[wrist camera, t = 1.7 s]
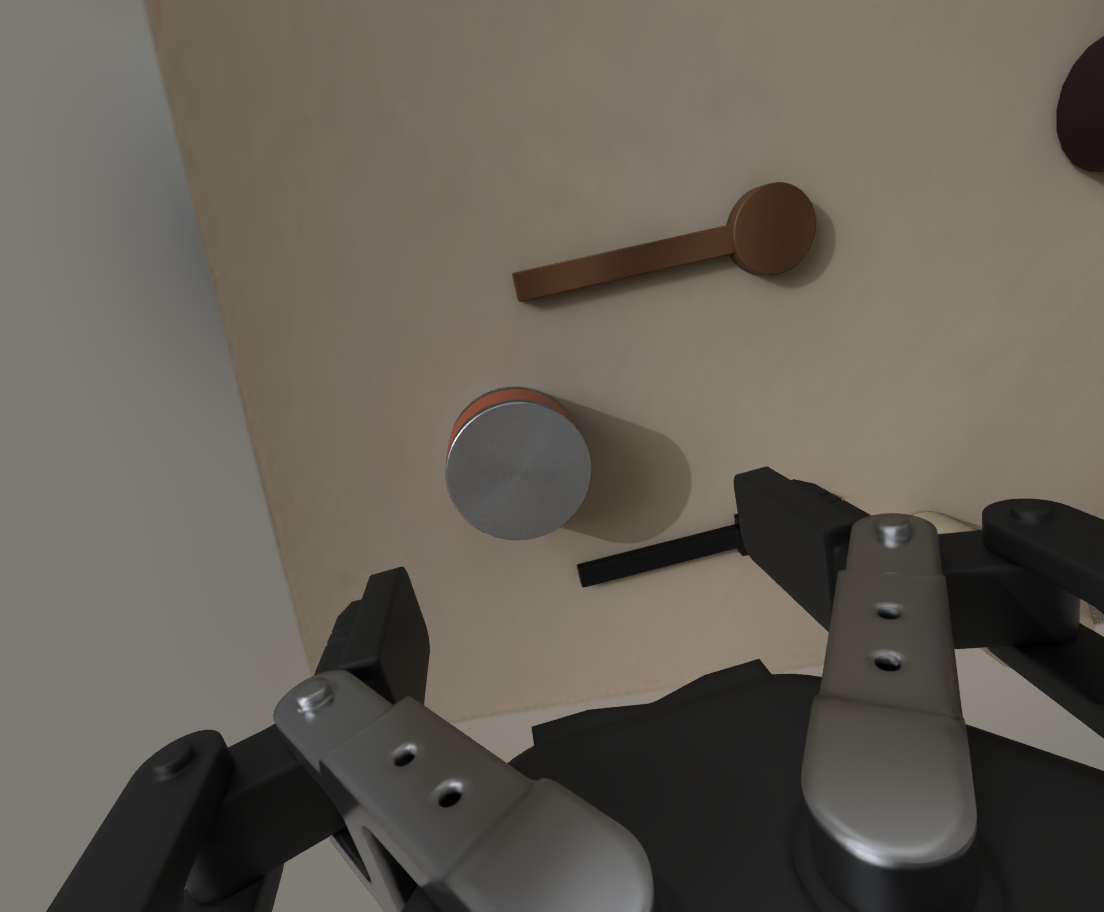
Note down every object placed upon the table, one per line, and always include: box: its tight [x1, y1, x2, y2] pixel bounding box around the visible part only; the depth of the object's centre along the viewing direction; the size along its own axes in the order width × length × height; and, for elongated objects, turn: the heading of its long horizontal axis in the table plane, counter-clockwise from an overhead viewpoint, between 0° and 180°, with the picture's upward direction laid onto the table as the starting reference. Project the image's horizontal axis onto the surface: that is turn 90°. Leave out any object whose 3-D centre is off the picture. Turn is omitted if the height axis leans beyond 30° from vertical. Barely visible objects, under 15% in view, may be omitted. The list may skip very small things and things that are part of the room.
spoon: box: [512, 182, 816, 301], centre depth 30 cm, size 16×4×1 cm, turn 102°
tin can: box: [445, 387, 591, 540], centre depth 30 cm, size 7×7×4 cm
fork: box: [577, 493, 831, 588], centre depth 35 cm, size 16×3×1 cm, turn 102°
